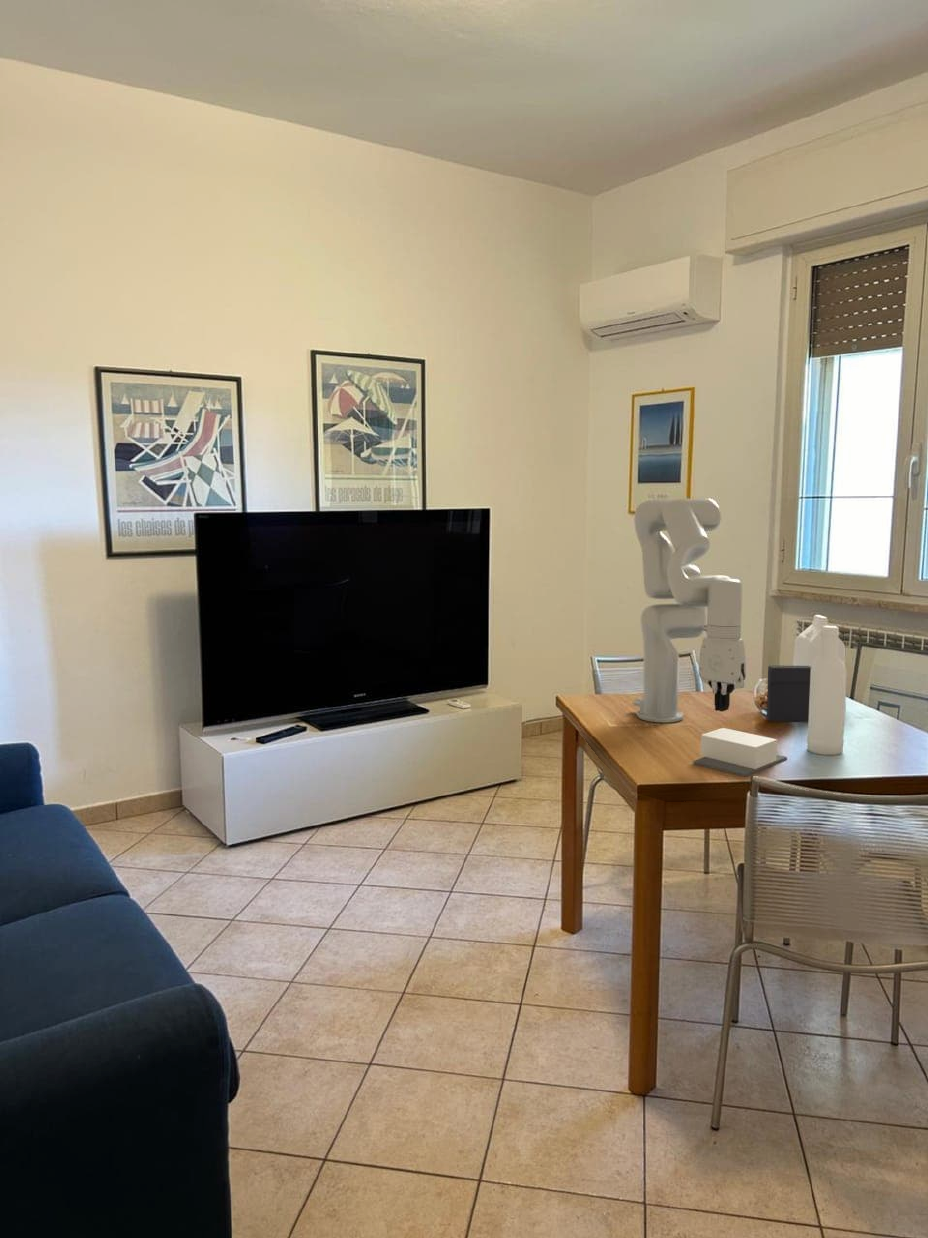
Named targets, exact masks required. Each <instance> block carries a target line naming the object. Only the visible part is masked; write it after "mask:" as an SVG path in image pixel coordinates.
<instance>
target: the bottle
mask: <svg viewBox="0 0 928 1238" xmlns="http://www.w3.org/2000/svg"><path fill="white" fill-rule="evenodd" d="M821 634H822V640H821V656H820V657H818V658H817V659H816V660H815V661H814V662H813V665H812V667H811V674H810V698H809V721H808V722H807V723H808V726H807V727H808V728H807V738H806V741H807V742H806V743H807V745H806V747H807V748H806V749H807V751H809V752H811V753H814V754H817V755H822V756H838V755H841V754H842V753H843V751H844V749H843V748H844V732H845V731H844V729H845V728H844V726H845V710H846V709H845V697H846V688H847V687H846V686H847V668H846V664H845V665H844V663H843V662H842V661H841V660H840V659H839V658H838V657H837V655H838V638H839V636H840V628H839V627H838V626H836V625H828V626H823V627H822V631H821Z"/></svg>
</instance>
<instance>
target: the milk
mask: <svg viewBox="0 0 928 1238" xmlns="http://www.w3.org/2000/svg"><path fill="white" fill-rule="evenodd" d="M823 626H829V622H828V617H827V616H823V615H821V614H815V615H814V616H813V619H812V622H811V624H810V625H809V626H808V627H807V628H805V630H803V631H802V632H801V633H799V635H797V637H796V638H795V640H794V643H793V644H794V646H793V654H792V656H793V658H792V666H810V667H812V665H813V662H814V661H815V660H816V659H817V658H818V657H820V656H821V640H822V634H821V631H822V627H823ZM837 657H838V658H839V659H840V660H841V661H842V662H843V663H844V665H845V666H846V646H845V644H844V642H843V641H842V639H841V638H840V637H838V655H837ZM846 697H847V696H845V710H846V702H847V701H846Z"/></svg>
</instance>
